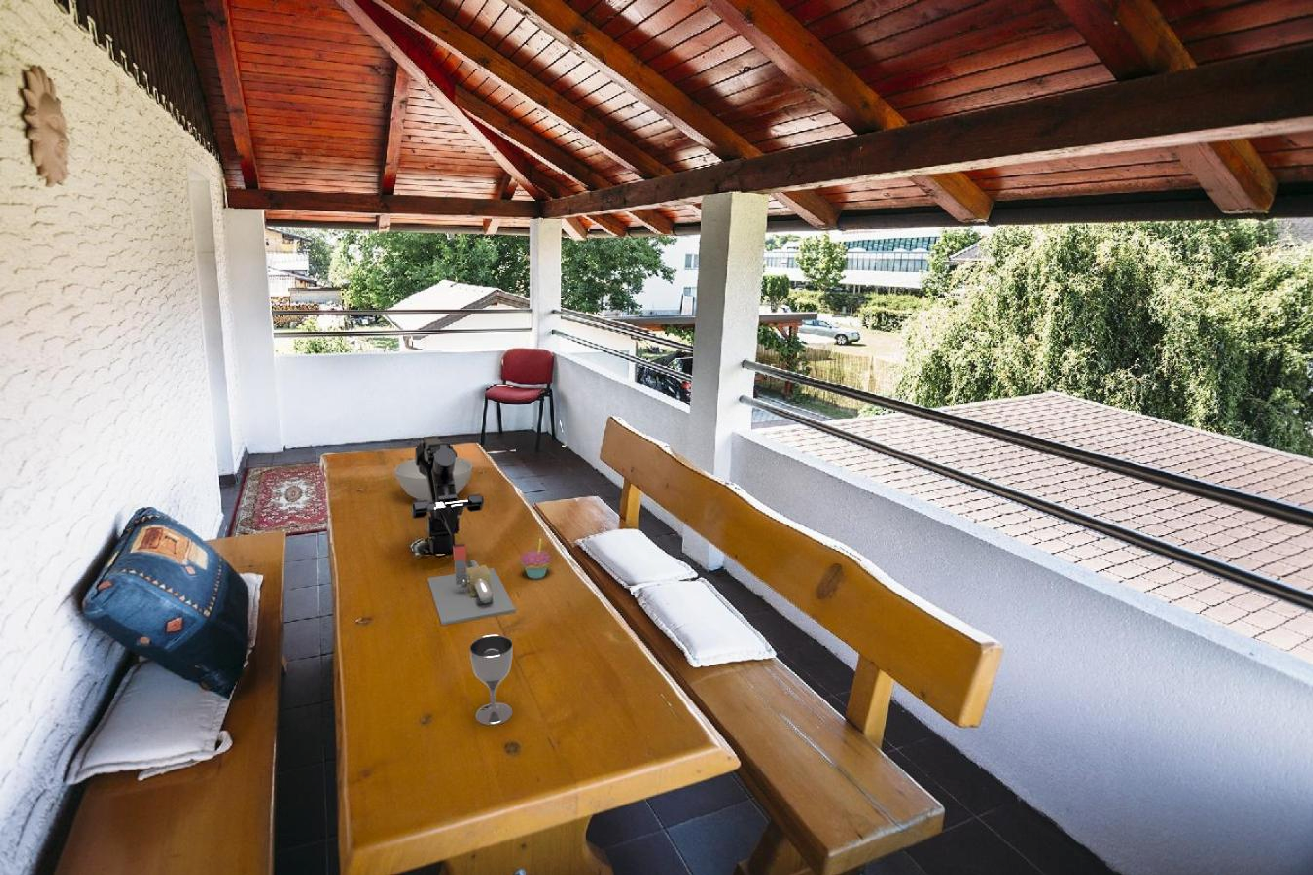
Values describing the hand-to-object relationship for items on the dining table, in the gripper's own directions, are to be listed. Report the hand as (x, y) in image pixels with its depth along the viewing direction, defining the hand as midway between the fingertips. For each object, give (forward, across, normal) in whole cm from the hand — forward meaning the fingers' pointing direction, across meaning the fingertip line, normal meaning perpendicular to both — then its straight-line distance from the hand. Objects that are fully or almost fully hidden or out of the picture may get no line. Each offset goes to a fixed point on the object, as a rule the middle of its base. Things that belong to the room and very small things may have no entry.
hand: (452, 534), depth 194 cm
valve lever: (+15, 0, 0) cm, 15 cm away
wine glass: (+54, +3, +34) cm, 64 cm away
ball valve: (+17, -4, -2) cm, 18 cm away
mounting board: (+17, -2, -2) cm, 17 cm away
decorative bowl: (-39, -5, -59) cm, 71 cm away
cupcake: (+13, -21, -6) cm, 26 cm away
